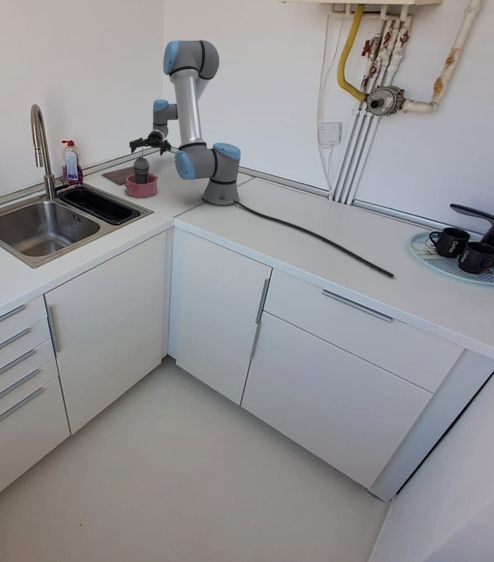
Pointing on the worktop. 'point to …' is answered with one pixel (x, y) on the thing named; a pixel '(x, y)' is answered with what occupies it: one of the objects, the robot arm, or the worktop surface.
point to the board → (120, 175)
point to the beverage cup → (141, 170)
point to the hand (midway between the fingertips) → (146, 151)
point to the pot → (141, 187)
